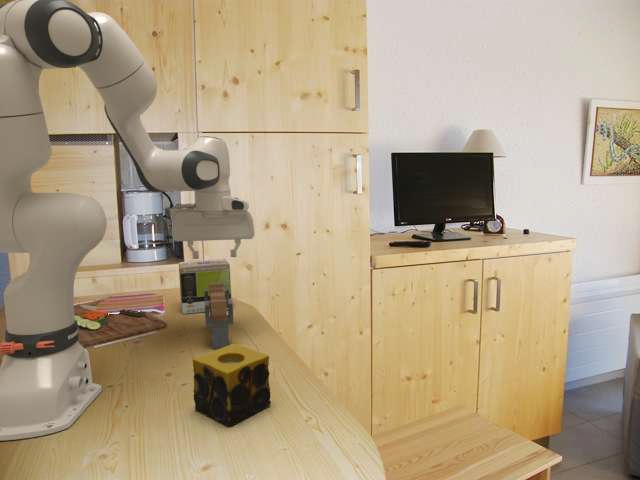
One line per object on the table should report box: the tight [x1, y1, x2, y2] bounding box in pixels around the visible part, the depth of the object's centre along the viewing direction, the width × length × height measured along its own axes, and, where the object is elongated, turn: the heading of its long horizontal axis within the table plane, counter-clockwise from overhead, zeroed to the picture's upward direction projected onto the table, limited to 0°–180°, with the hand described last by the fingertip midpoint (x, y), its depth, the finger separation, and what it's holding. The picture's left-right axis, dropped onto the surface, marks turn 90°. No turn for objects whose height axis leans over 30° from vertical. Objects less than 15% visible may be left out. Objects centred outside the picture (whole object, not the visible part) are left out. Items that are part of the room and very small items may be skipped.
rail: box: [209, 282, 228, 322], centre depth 126 cm, size 20×4×5 cm, turn 14°
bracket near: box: [204, 298, 234, 350], centre depth 119 cm, size 4×7×11 cm, turn 104°
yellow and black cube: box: [192, 343, 272, 428], centre depth 88 cm, size 10×10×10 cm
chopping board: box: [74, 298, 168, 350], centre depth 140 cm, size 45×27×3 cm, turn 44°
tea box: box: [178, 258, 232, 315], centre depth 152 cm, size 15×10×15 cm, turn 108°
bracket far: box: [204, 287, 230, 328], centre depth 133 cm, size 4×7×11 cm, turn 104°
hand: (214, 257), depth 124 cm, fingers open, 8 cm apart
